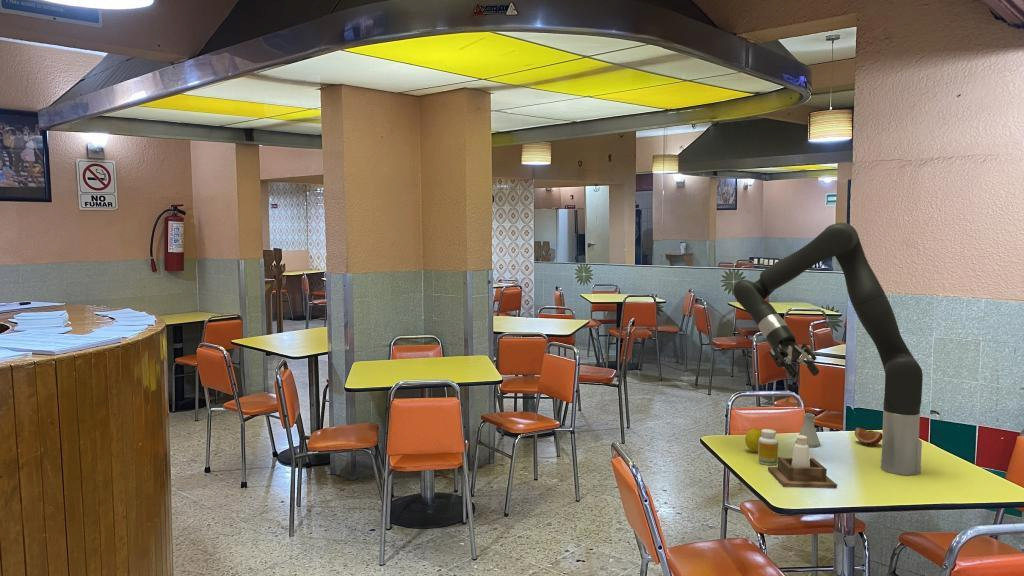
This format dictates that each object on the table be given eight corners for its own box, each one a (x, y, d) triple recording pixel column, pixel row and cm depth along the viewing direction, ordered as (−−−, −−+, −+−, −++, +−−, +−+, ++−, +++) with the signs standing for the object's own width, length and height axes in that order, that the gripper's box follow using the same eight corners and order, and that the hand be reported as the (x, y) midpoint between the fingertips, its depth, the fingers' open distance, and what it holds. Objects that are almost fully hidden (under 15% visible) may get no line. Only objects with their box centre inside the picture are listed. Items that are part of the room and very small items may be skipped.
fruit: (744, 448, 225) (745, 423, 224) (762, 450, 223) (763, 425, 223) (745, 453, 220) (745, 428, 219) (764, 455, 218) (764, 429, 218)
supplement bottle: (778, 466, 207) (779, 433, 207) (759, 465, 208) (760, 432, 208) (775, 460, 213) (776, 429, 212) (756, 459, 214) (757, 427, 213)
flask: (791, 442, 232) (792, 412, 232) (809, 440, 235) (810, 411, 234) (806, 448, 226) (807, 417, 225) (825, 446, 228) (826, 416, 227)
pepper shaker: (813, 474, 197) (814, 435, 196) (808, 479, 192) (809, 440, 192) (792, 470, 200) (794, 432, 199) (787, 475, 196) (788, 436, 195)
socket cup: (817, 471, 203) (818, 456, 202) (836, 488, 189) (837, 471, 188) (767, 470, 204) (768, 454, 203) (783, 486, 190) (783, 470, 189)
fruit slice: (850, 442, 233) (851, 428, 232) (862, 439, 236) (862, 425, 236) (875, 449, 226) (875, 433, 225) (886, 446, 229) (887, 430, 229)
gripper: (766, 325, 210) (796, 369, 200) (800, 323, 216) (831, 365, 207) (752, 341, 215) (781, 385, 205) (786, 338, 221) (815, 380, 212)
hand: (806, 375), depth 206 cm, fingers open, 8 cm apart
